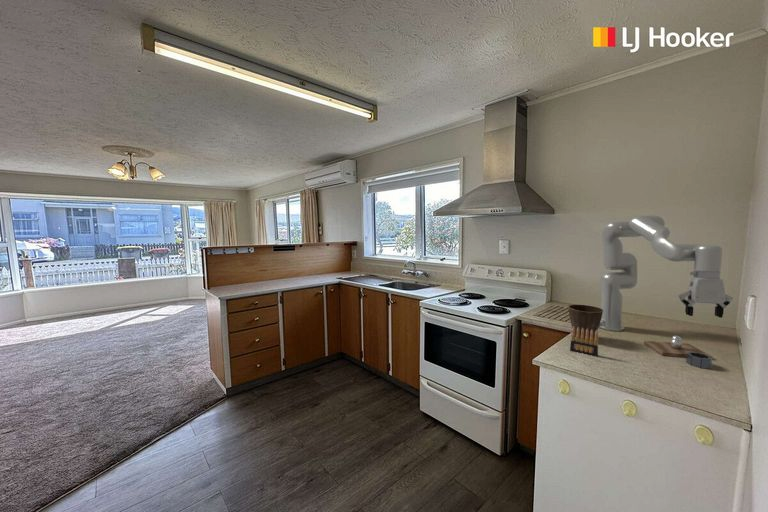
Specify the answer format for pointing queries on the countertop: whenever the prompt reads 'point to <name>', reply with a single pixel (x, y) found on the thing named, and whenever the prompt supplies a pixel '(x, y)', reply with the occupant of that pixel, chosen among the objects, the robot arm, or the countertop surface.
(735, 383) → the countertop surface
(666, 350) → the base plate
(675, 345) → the silver egg
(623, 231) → the robot arm
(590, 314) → the plant pot
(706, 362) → the steel ring
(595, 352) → the ammunition clip
